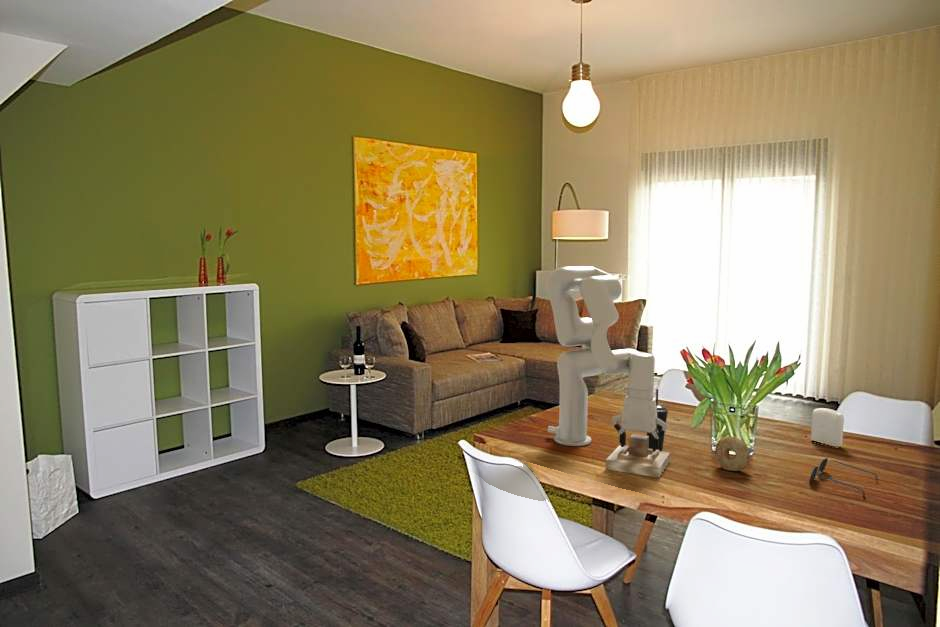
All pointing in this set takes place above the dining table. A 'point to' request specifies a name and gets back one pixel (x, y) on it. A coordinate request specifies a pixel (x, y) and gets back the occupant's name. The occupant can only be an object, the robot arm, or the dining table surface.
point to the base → (638, 462)
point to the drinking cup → (662, 416)
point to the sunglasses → (821, 468)
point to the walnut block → (638, 445)
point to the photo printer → (827, 426)
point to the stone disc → (729, 462)
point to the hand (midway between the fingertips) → (638, 448)
